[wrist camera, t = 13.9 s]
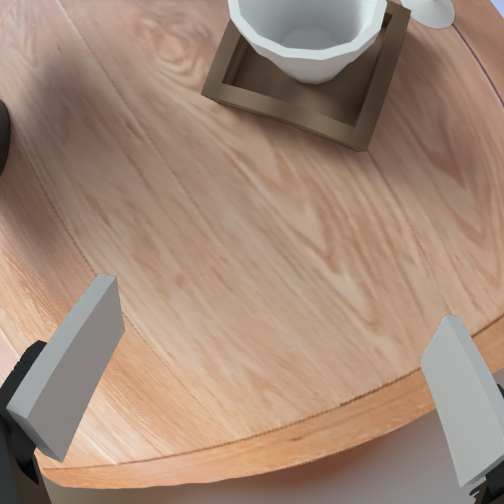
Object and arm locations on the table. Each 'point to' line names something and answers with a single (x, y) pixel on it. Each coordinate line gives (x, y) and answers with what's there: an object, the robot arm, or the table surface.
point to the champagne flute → (431, 12)
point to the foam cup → (309, 33)
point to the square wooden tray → (311, 85)
